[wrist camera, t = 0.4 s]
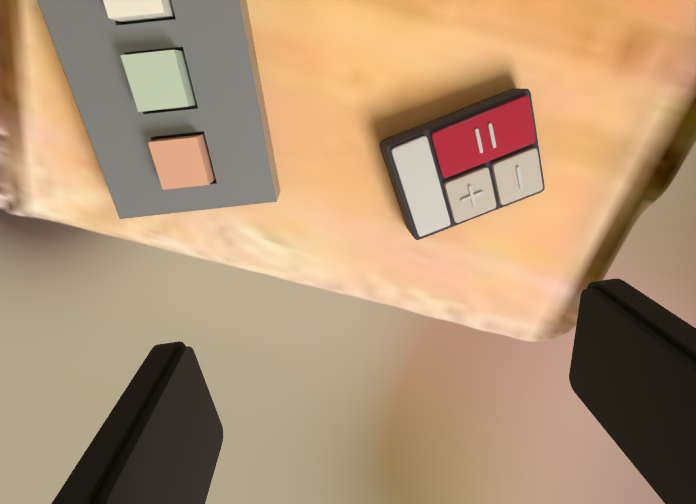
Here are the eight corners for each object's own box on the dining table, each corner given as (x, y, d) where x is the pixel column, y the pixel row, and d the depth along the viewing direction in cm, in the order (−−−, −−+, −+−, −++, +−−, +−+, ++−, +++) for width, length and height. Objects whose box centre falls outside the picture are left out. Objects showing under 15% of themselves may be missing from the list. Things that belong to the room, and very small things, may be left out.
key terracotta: (158, 138, 36) (147, 142, 34) (204, 133, 36) (196, 137, 34) (172, 183, 38) (162, 189, 36) (215, 178, 38) (209, 184, 36)
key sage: (134, 56, 33) (120, 55, 31) (184, 51, 33) (173, 49, 31) (150, 109, 35) (138, 111, 33) (197, 104, 35) (188, 106, 33)
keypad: (38, -67, 31) (5, -83, 28) (230, -87, 31) (219, -105, 28) (135, 208, 41) (119, 218, 38) (280, 191, 42) (276, 201, 38)
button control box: (550, 192, 40) (417, 244, 41) (528, 183, 44) (407, 230, 45) (534, 87, 35) (385, 147, 36) (511, 87, 39) (377, 141, 40)
